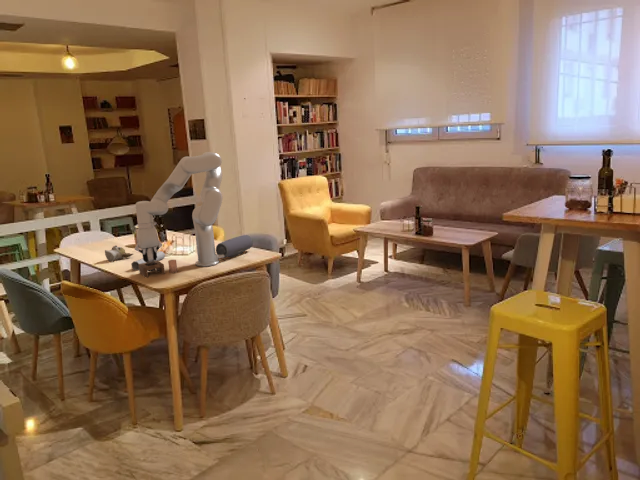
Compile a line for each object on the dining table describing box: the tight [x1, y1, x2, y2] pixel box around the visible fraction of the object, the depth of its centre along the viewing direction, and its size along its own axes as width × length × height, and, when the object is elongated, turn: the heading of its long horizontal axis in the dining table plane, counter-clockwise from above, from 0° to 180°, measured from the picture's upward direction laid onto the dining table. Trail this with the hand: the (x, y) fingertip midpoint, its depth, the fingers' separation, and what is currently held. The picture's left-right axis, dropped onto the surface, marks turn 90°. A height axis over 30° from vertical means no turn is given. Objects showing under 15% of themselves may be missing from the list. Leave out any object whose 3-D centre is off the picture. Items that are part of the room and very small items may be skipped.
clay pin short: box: [167, 259, 178, 274], centre depth 263 cm, size 4×4×6 cm
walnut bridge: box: [138, 260, 166, 278], centre depth 262 cm, size 10×10×5 cm
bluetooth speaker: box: [215, 234, 254, 259], centre depth 289 cm, size 23×9×10 cm, turn 149°
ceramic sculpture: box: [104, 245, 134, 262], centre depth 294 cm, size 11×9×15 cm
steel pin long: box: [145, 247, 157, 272], centre depth 260 cm, size 4×4×12 cm
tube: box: [130, 250, 166, 271], centre depth 281 cm, size 5×5×25 cm
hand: (150, 260), depth 261 cm, fingers closed on steel pin long, 4 cm apart
